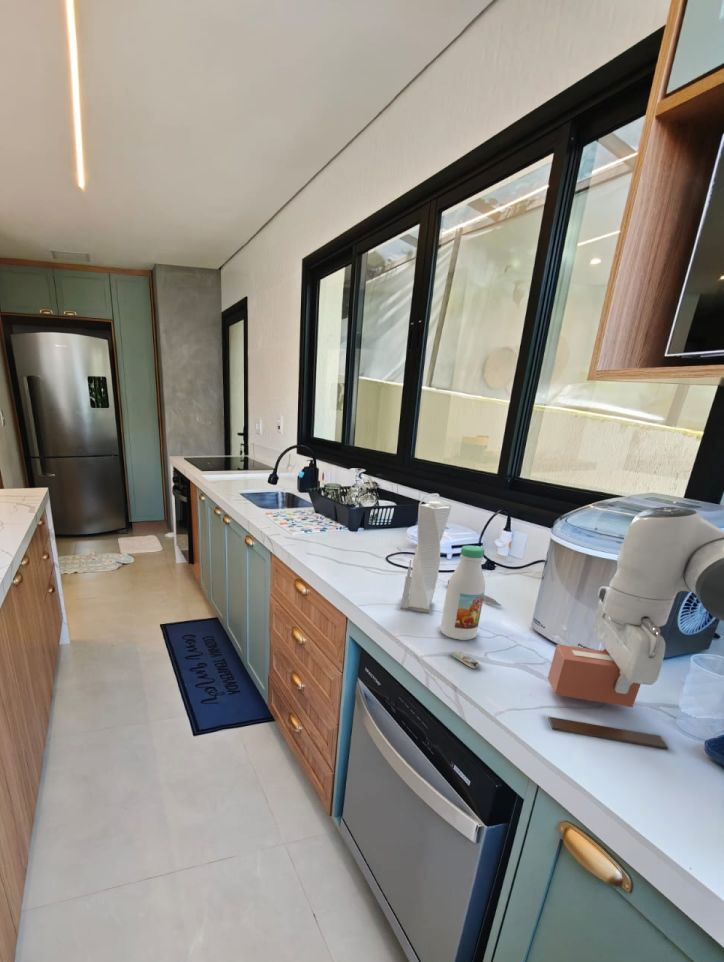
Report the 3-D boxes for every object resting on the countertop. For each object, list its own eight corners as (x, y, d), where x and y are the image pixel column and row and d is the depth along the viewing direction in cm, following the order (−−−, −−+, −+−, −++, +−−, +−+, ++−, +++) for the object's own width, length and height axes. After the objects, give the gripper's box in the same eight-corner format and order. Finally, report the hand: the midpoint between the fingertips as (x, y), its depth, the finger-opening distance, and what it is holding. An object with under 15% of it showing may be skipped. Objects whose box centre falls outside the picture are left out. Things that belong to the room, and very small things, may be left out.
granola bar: (448, 655, 103) (449, 650, 103) (456, 653, 104) (457, 648, 104) (473, 670, 98) (473, 665, 97) (481, 668, 98) (482, 663, 98)
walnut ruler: (659, 737, 79) (660, 735, 79) (667, 749, 77) (668, 747, 76) (548, 718, 83) (548, 716, 83) (552, 728, 81) (552, 726, 81)
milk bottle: (438, 636, 111) (452, 549, 104) (441, 623, 118) (455, 541, 111) (475, 643, 109) (492, 554, 101) (476, 629, 115) (492, 545, 108)
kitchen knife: (446, 586, 143) (447, 579, 142) (449, 585, 143) (450, 579, 142) (499, 609, 128) (501, 601, 127) (502, 608, 128) (503, 601, 127)
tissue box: (547, 677, 93) (556, 643, 90) (620, 689, 90) (632, 654, 87) (554, 694, 88) (564, 658, 85) (632, 707, 85) (645, 670, 82)
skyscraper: (403, 597, 133) (418, 491, 123) (435, 602, 131) (453, 494, 120) (400, 609, 126) (415, 496, 115) (433, 614, 123) (452, 500, 113)
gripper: (687, 635, 72) (657, 717, 77) (636, 588, 90) (614, 657, 95) (637, 629, 73) (610, 709, 79) (596, 584, 92) (577, 651, 97)
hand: (612, 680), depth 87 cm, fingers closed on tissue box, 6 cm apart
